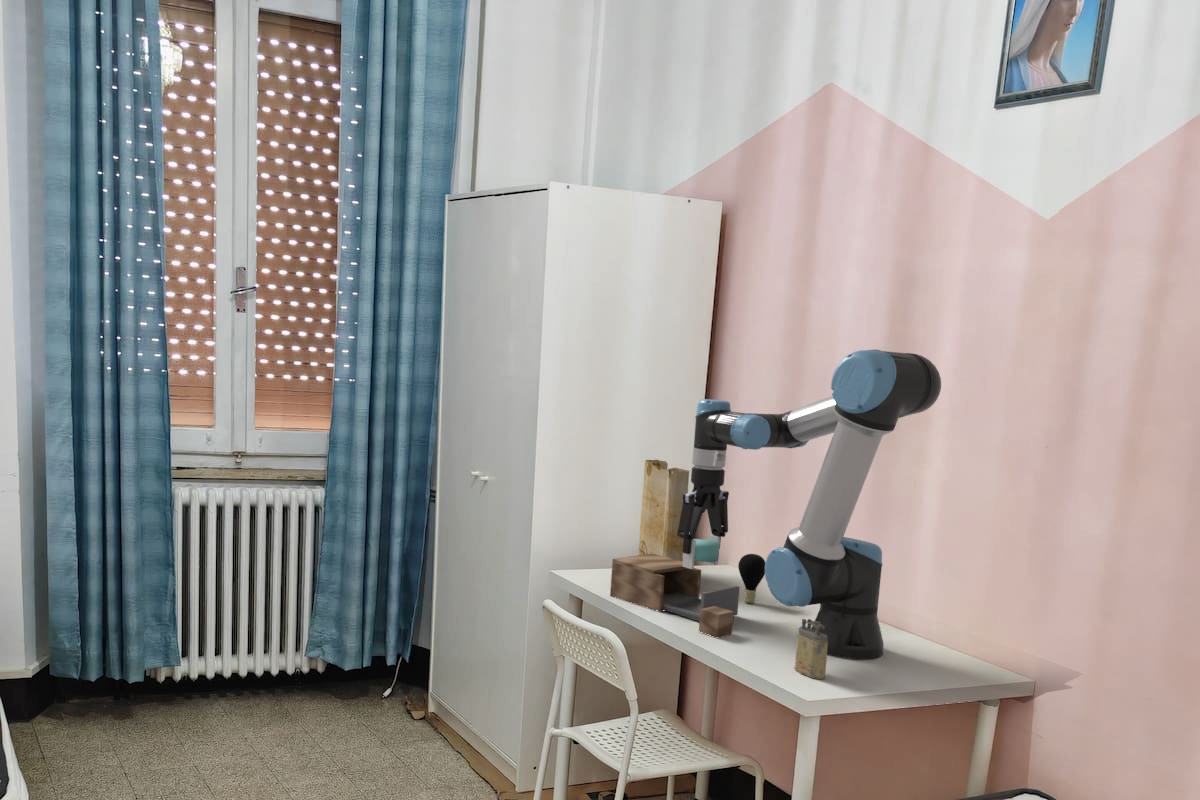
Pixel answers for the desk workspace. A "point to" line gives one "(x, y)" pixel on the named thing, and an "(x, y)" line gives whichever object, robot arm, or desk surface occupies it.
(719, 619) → the block
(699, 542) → the teal rounded puck
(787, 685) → the desk surface
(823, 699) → the desk surface
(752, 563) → the light bulb
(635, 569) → the box
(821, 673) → the lighter
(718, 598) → the tray
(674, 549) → the tan piece
